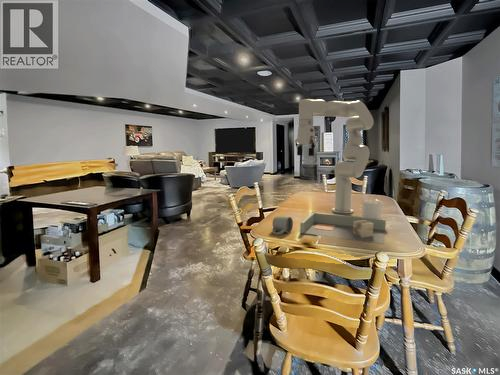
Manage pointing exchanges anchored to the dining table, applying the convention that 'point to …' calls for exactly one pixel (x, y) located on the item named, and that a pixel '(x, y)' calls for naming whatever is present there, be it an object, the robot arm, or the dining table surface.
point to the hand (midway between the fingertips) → (305, 155)
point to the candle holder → (372, 208)
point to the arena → (341, 227)
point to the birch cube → (363, 228)
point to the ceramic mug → (282, 225)
